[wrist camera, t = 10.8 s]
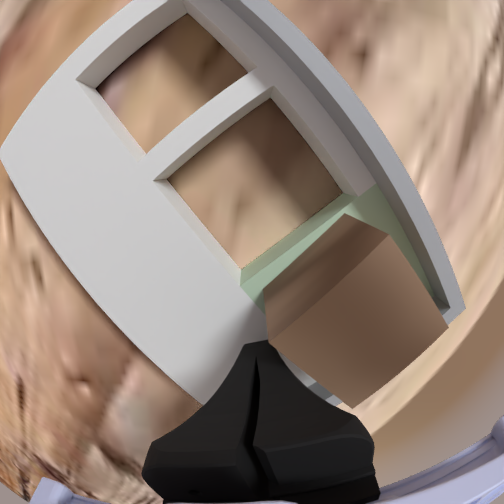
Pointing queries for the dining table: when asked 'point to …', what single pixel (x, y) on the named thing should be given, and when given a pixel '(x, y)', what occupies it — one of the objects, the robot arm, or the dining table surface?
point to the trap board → (174, 207)
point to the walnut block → (351, 311)
